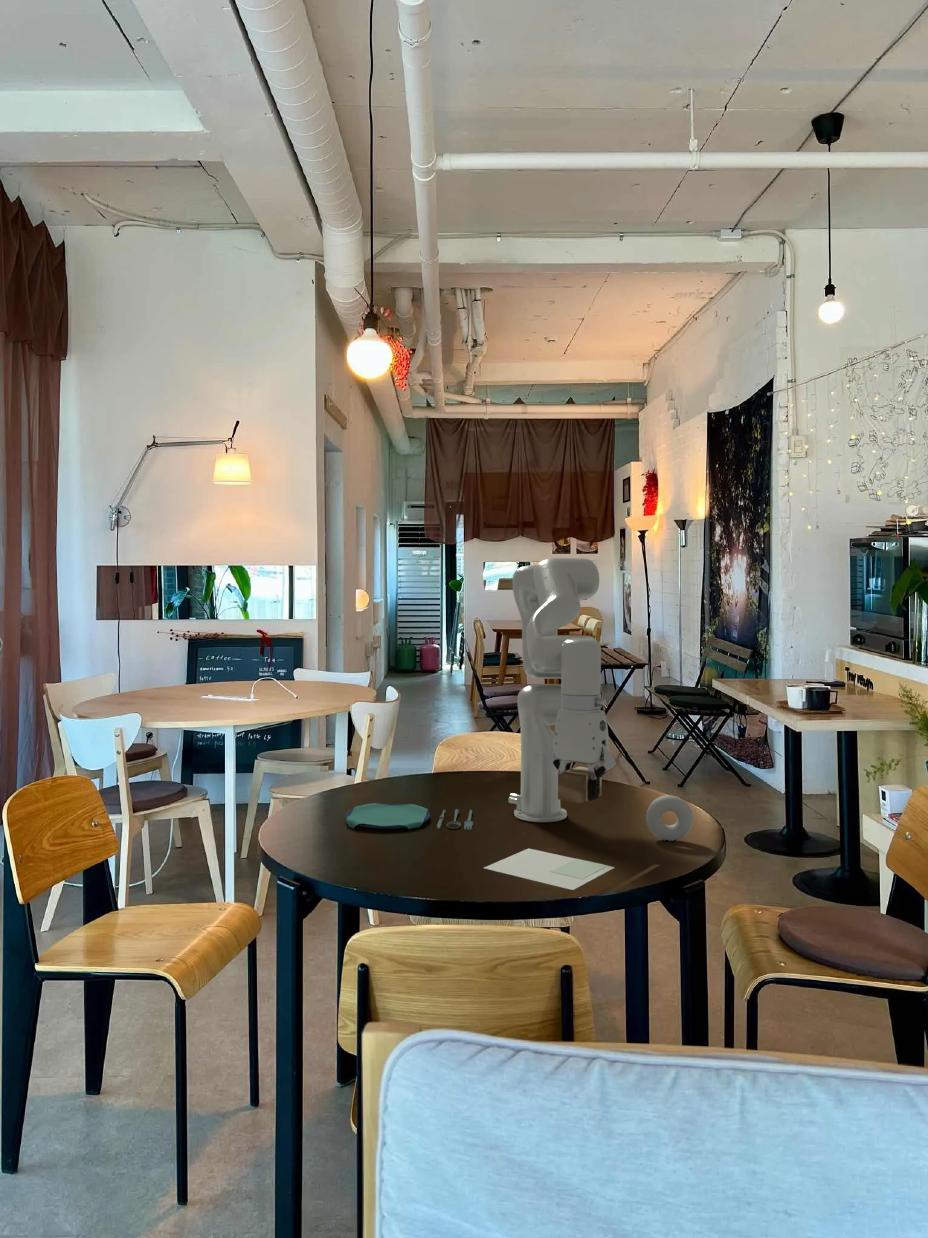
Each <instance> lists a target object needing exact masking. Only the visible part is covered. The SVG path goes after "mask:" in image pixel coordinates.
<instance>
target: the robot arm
mask: <svg viewBox="0 0 928 1238" xmlns="http://www.w3.org/2000/svg"><path fill="white" fill-rule="evenodd" d="M599 587H600V572H599V570H598V567H597V565H596V563H594V562H593V560H591V559H588V558H573V557H570V558H567V557H566V558H564V557H560V558H558V557H554V558H553V557H552V558H547V559H544V560H541V561H540V562H539V563H538V564H531V565H525V566H521V567H519V568H517V569H516V570H515V571H514V572H513V576H512V592H513V593H512V594H513V598H514V600H515V601H514V602H515V604H516V607H517V610H518V612H519V616H520V619H521V640H522V641H521V642H522V647H521V648H522V649H521V650H522V666H523V670H524V673H525V674H526V676H528V677H529V678H533V679H560V681H561V682H560V683H559V684H555V683H539V684H538V683H537V684H529V685H527V686H525V687H523V688H522V689H520V690H519V692H518V694H517V711H518V718H519V725H520V728H519V729H520V794H519V793H518V794H517V793H509V797H508V801H507V802H508V803H509V804H515V805H516V808H515V809H514V811H513V814H514V816H515V818H516V819H519V820H522V821H526V822H533V823H553V822H560V821H563V820H564V819H566V818H567V816H568V812H567V810H566V809H565V808H562V807H561V800H559V799H558V773H561V772H564V771H567V770H570V769H572V766H573V763H579V764H584V765H585V764H586V767H587V768H588V770H589V775H590V779H589V780H588V801H591V802H592V801H594V800H597V799H598V798H599V796H598V795H599V794H600V778H601V777H603V776H604V775H605V774H606V773H607V772H608V771H609V770H610V769H612V768H613V767H614V766H615V765H616V764H617V761H616V760H615V759H614V757H613V755H612V754H611V752H610V738H609V729H608V722H607V715H606V712H605V710H601V709H602V707H606V706H607V699H606V698H602V694H601V691H602V690H601V689H602V688H601V687H602V685H601V684H602V683H601V681H602V679H601V676H602V675H601V674H602V672H601V671H602V669H601V668H602V667H601V666H602V649H601V648H602V647H601V646H602V645H601V643H600V642H599V641H598V640H597V639H596V638H594V637H593V636H590V635H570V634H568V635H567V634H566V635H564V634H563V635H560V634H559V635H558V629H561V628H563V627H566V626H569V624H571V623H572V622H574V621H575V620H576V619H577V618H578V617H579V615H580V613H581V612H580V611H581V603H580V602H581V601H584V600H586V599H587V600H588V599H589V598H592V597H593V596H594V595H596V594H597V592H598V590H599ZM554 725H555V726H554ZM550 726H554V731H553V730H552V728H551V727H550ZM600 762H604V763H603V764H602V765H601V763H600Z"/></svg>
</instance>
